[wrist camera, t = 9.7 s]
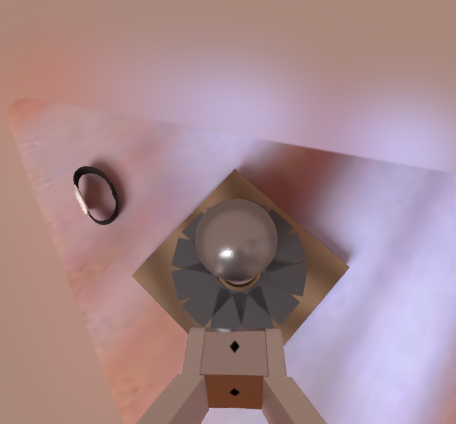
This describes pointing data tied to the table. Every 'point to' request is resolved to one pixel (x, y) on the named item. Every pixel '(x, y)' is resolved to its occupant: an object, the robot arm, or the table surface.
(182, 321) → the stand
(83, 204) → the watch
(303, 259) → the grey gear
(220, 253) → the metallic rounded rod
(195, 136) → the table surface
